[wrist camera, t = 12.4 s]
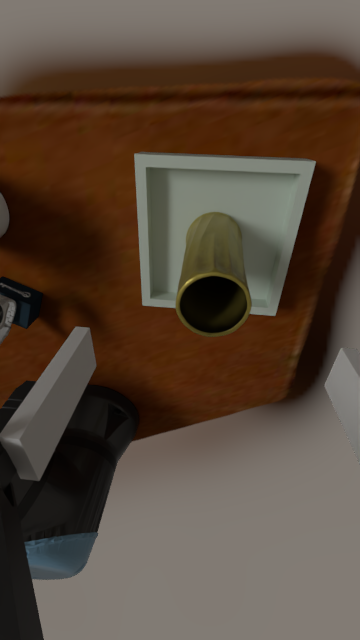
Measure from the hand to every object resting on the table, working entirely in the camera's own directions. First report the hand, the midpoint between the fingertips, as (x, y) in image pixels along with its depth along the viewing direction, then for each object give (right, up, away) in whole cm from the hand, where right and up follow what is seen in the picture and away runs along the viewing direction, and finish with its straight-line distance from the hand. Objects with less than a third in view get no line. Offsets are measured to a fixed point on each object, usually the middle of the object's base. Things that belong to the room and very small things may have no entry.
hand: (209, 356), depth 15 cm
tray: (+2, +11, +17) cm, 20 cm away
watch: (-24, +5, +24) cm, 34 cm away
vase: (+2, +11, +16) cm, 20 cm away
